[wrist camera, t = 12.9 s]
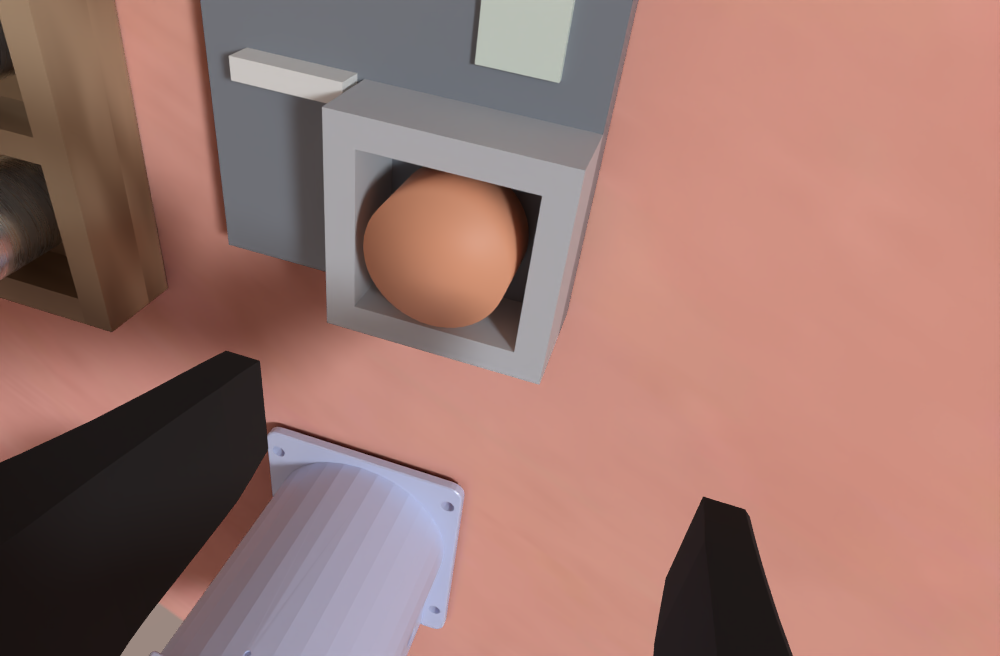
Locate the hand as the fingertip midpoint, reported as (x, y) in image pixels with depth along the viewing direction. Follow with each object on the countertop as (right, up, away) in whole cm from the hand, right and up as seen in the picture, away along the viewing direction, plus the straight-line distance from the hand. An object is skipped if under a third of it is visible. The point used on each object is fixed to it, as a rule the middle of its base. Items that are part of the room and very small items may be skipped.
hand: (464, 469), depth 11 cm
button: (0, +5, +7) cm, 9 cm away
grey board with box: (-2, +8, +7) cm, 11 cm away
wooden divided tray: (-14, +9, +11) cm, 20 cm away
